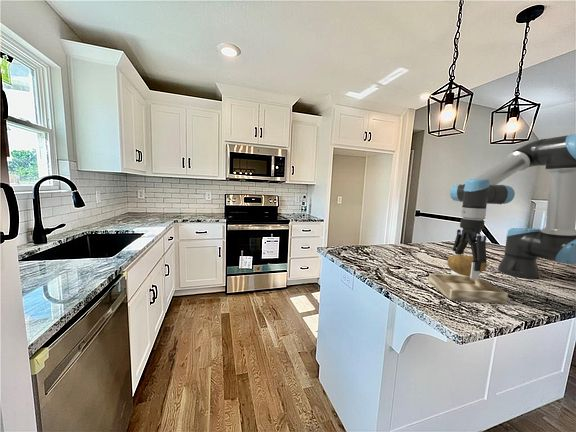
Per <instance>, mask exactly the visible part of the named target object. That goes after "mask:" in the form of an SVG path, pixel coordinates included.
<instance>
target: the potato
mask: <svg viewBox="0 0 576 432" xmlns="http://www.w3.org/2000/svg"><path fill="white" fill-rule="evenodd" d="M472 261H474V259H473V255H465V254H463V255H456V254H453V255H451V256H449V257H448V259H447V266H448V267H449V269H450V271H451V270H452V271H454V272H456V273H458V274H461V275H464V276H470V274H471V266H472ZM487 262H488V261H487ZM487 262H486V263H481V269H480V273H482V272H484V271H485V270H486V269H487V267H488V263H487Z"/></svg>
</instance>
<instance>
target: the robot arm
mask: <svg viewBox="0 0 576 432" xmlns="http://www.w3.org/2000/svg"><path fill="white" fill-rule="evenodd" d="M537 166H538V167H539V166H545V171H547V172H548V173H549V184H548V194H547V208H546V219H545V220H546V221H545V227H544V228H542V229H541V228H533V227H532V228H529V227H527V228H523V227H521V228H520V227H516V228H514V227H513V228H509V229H508V230H507V233H506V238H505V239H506V240H505V241H506V242H505V248H504V255H503V257H502V259H501V261H500V263H499V264H498V267H497V271H498V272H500V273H503V274H505V275H509V276H512V277H517V278H523V279H530V280H531V279H534V280H536V279H539V278H540V270H539V266H538V263H537V258H540V259H544V260H548V261H552V262H556V263H558V264H561V263H562V264H566V265H573V264H576V134H569V135H562V136H556V137H550V138H542V139H541V138H540V139H536V140H533V141H531V142H529V143H526V144H524V145H522V146H520V147H518V148H516V149H514V150H513V151H511V152H510V153H508V154H507V156H506V157H505V158H504V159H503V160H501V161H500V162H498V163H496V164H494V165H493V166H491V167H490V168H488V169H486V170H485V171H483V172H481V174H479V175H477V176H476V177H473V178H468V179H466V180H465V182H464V184H455V185H452V187H451V188H450V191H449V197H450V198H451V200H452V201H456V202H462V207H461V212H460V213H461V214H460V215H461V219H460V222H459V227H460V228H461V229H457V230H456V236H455V239H454V242H453V247H452V251H453V252H454V255H465V250H466V248H467V246H468V245H469V246H470V250H471V253H472V255H471V256H473V259H474V261H472V266H471V274H470V278H471V279H479V278H480V269H481V263H486V262H488V260H487V248H486V247H487V245H486V241H487V236H486V235H481V231H482V230H484V228H485V219H486V216H487V214H486V213H487V205H490V204H491V205H506V204H509V203H510V202H512V201H513V200H514V199H515V195H516V192H515V190H514V188H513V187H512V186H509V185H506V184H500V183H501V182H503V181H504V180H506V179H507V178H509V177H511V176H512V175H514V174H515V173H517V172H520V171H521V172H522V171H525V170H527V169H528V168H531V167H537Z"/></svg>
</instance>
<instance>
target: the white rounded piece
mask: <svg viewBox="0 0 576 432" xmlns="http://www.w3.org/2000/svg"><path fill="white" fill-rule="evenodd" d="M450 275H461V274H458V273H456V272H454V271H452V270H451V269H450Z"/></svg>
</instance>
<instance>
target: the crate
mask: <svg viewBox="0 0 576 432" xmlns="http://www.w3.org/2000/svg"><path fill="white" fill-rule="evenodd" d="M428 274H429V275H428V283H429V284H430V285H431V286H433V287H434V288H435V289H436V290H437V291H439V292H440V293H441V294H442V295H443V296H445V297H446V298H448V299H449V300H450V301H454V302H455V301H457V302H470V303H471V302H472V303H485V304H486V303H488V304H489V303H490V304H504V305H505V304H507V303H508V296H509V293H508V292H506V291H504V290H503V289H500V288H499V287H497V286H495V285H494V284H491V283H490V282H488V281H486V280H484V279H482V278H480V277H479V279H471V278H470V276H464V275H451V274H444V273H428Z"/></svg>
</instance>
